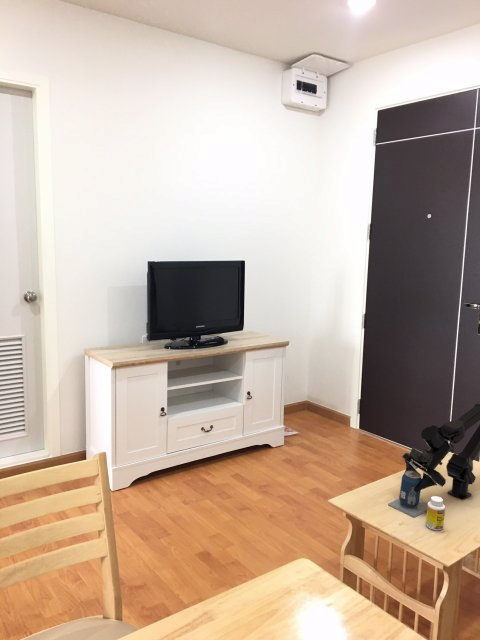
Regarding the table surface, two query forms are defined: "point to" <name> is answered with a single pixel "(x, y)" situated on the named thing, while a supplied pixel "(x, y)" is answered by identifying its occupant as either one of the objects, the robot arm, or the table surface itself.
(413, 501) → the soda can
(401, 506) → the coaster
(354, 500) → the table surface
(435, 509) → the supplement bottle
